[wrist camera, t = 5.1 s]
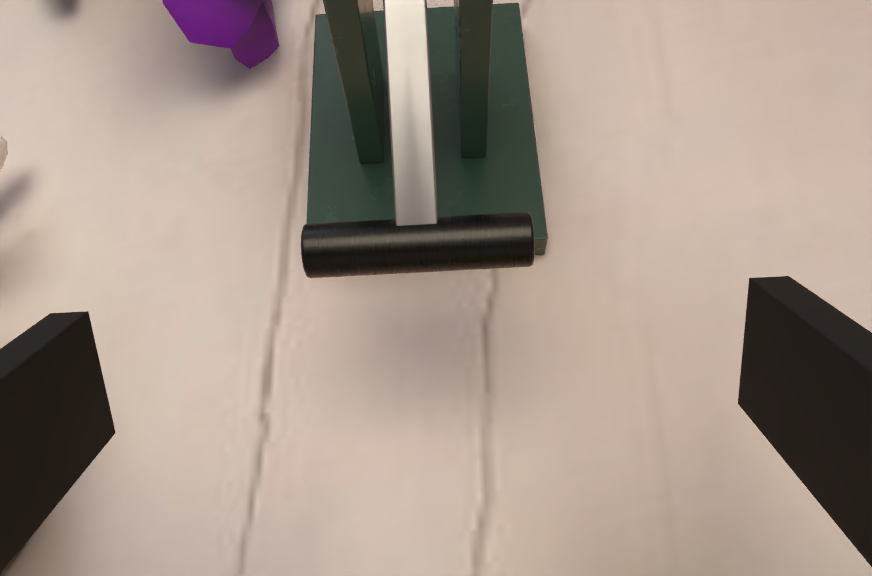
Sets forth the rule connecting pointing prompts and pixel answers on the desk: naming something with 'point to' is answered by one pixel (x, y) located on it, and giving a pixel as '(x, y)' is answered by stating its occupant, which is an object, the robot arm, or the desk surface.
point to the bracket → (451, 109)
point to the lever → (414, 186)
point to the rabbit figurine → (3, 151)
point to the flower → (229, 26)
